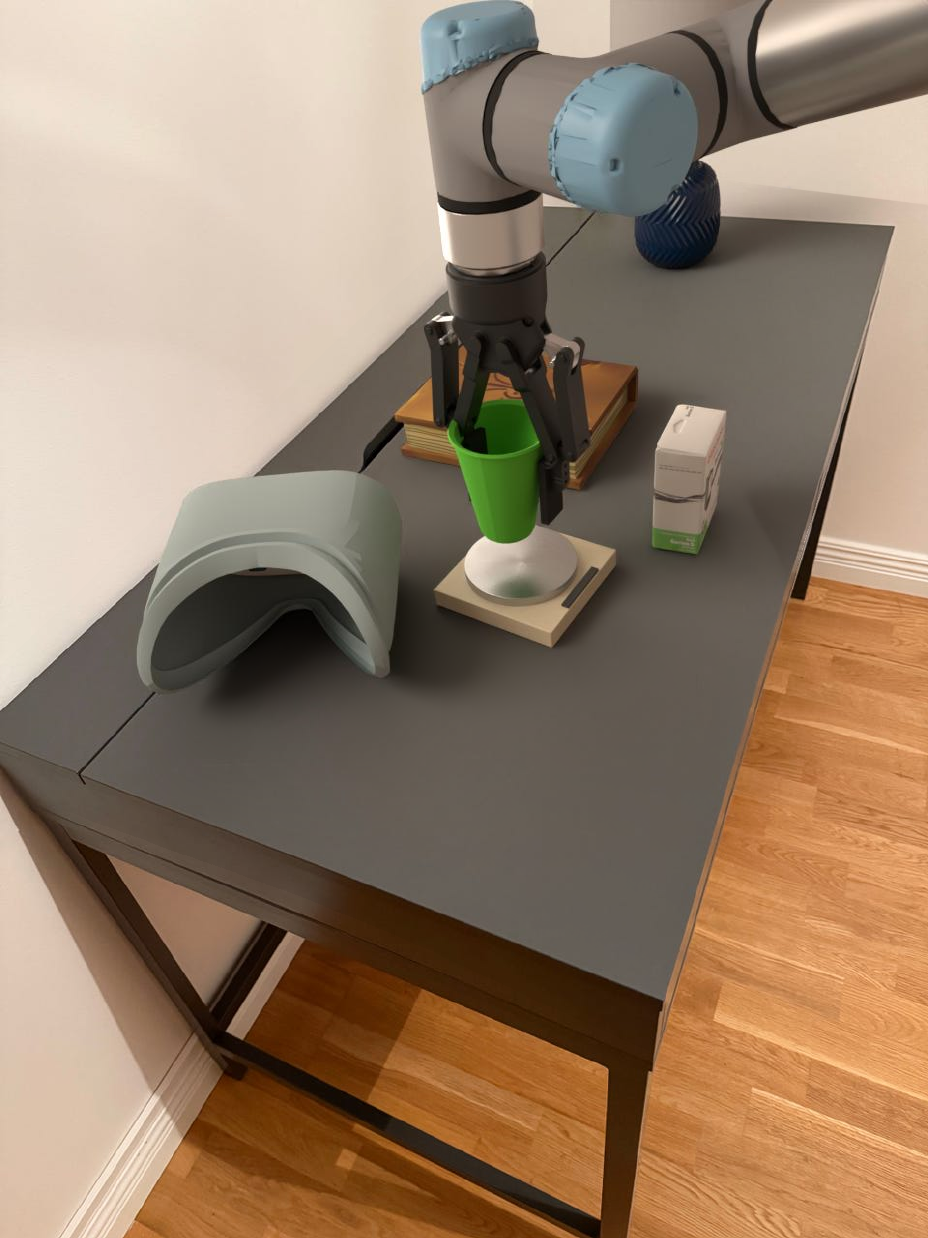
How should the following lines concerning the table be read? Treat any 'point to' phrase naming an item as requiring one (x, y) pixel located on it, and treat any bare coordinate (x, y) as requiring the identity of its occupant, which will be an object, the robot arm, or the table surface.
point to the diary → (604, 390)
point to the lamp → (692, 212)
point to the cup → (502, 471)
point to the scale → (537, 619)
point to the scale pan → (522, 568)
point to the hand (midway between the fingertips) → (515, 504)
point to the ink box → (687, 477)
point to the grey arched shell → (272, 572)
